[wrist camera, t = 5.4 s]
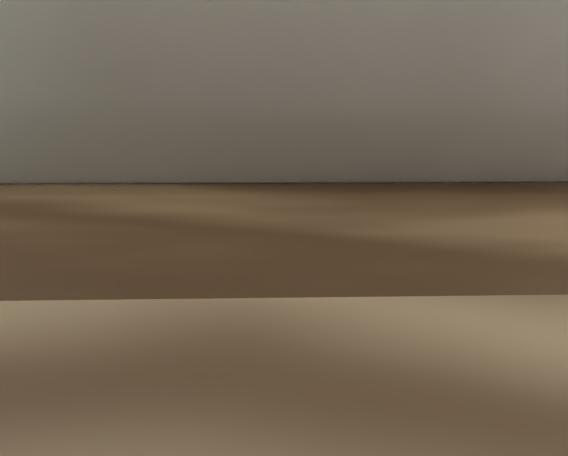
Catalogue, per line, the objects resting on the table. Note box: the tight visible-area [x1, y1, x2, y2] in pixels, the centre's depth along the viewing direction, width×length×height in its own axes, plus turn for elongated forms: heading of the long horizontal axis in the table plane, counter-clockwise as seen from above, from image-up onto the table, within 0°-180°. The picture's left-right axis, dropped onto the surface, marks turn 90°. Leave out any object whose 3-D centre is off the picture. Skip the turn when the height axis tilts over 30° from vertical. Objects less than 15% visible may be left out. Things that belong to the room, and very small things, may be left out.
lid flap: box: [0, 295, 568, 456], centre depth 6 cm, size 8×17×1 cm
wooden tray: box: [0, 182, 568, 301], centre depth 17 cm, size 16×18×5 cm
